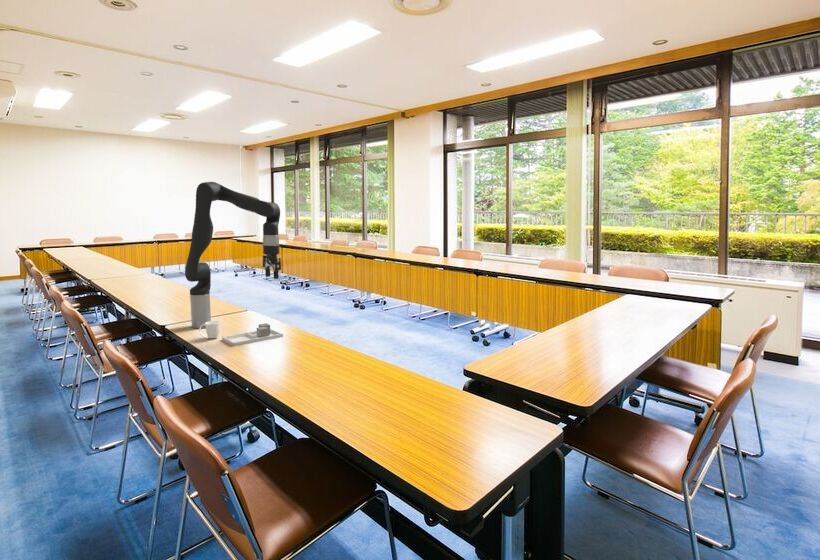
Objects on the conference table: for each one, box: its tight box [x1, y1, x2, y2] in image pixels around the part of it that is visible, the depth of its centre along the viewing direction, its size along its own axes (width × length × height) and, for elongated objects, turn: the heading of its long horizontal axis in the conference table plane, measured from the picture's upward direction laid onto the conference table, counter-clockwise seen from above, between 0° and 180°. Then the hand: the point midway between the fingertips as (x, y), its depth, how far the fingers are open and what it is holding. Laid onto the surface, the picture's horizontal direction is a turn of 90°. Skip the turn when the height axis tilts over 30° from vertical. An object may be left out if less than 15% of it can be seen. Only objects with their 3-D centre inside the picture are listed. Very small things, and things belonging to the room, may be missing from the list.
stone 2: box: [256, 326, 269, 338], centre depth 219 cm, size 4×4×5 cm
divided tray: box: [221, 328, 284, 347], centre depth 219 cm, size 13×24×2 cm, turn 133°
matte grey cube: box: [258, 322, 271, 335], centre depth 225 cm, size 4×4×5 cm
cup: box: [198, 320, 221, 339], centre depth 217 cm, size 7×10×8 cm
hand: (272, 277), depth 225 cm, fingers open, 8 cm apart
